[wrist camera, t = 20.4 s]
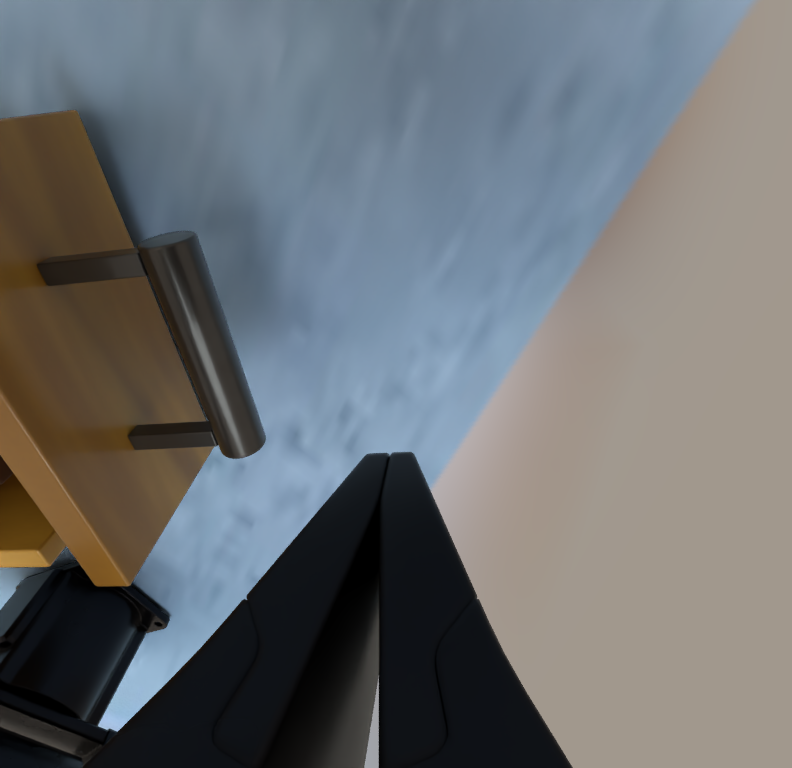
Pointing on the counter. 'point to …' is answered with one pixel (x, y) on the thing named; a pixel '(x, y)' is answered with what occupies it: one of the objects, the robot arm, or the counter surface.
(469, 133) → the counter surface
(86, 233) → the drawer
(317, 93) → the counter surface
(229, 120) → the counter surface
